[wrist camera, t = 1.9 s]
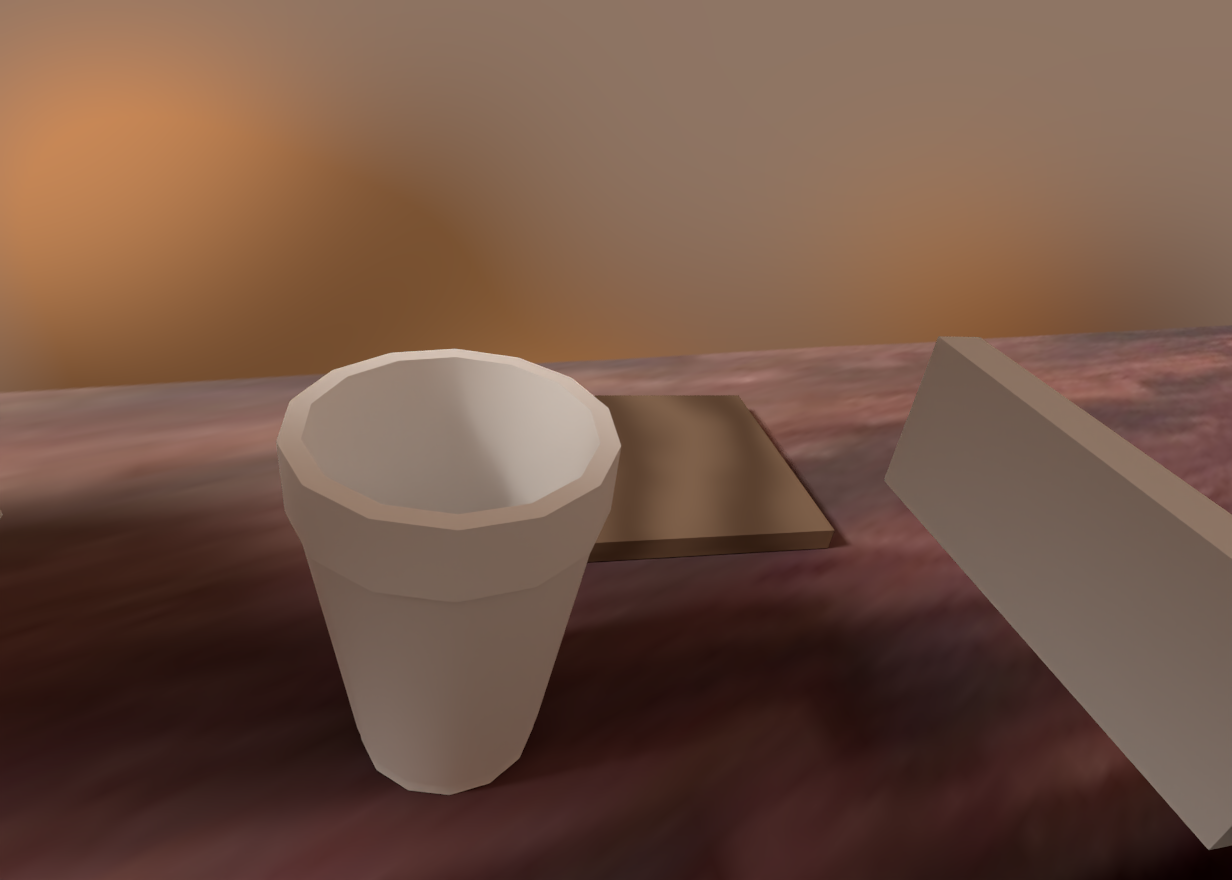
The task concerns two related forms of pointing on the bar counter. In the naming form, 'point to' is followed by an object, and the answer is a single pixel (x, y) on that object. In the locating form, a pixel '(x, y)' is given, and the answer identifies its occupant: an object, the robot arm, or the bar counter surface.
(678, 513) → the walnut board
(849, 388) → the bar counter surface
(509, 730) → the foam cup
